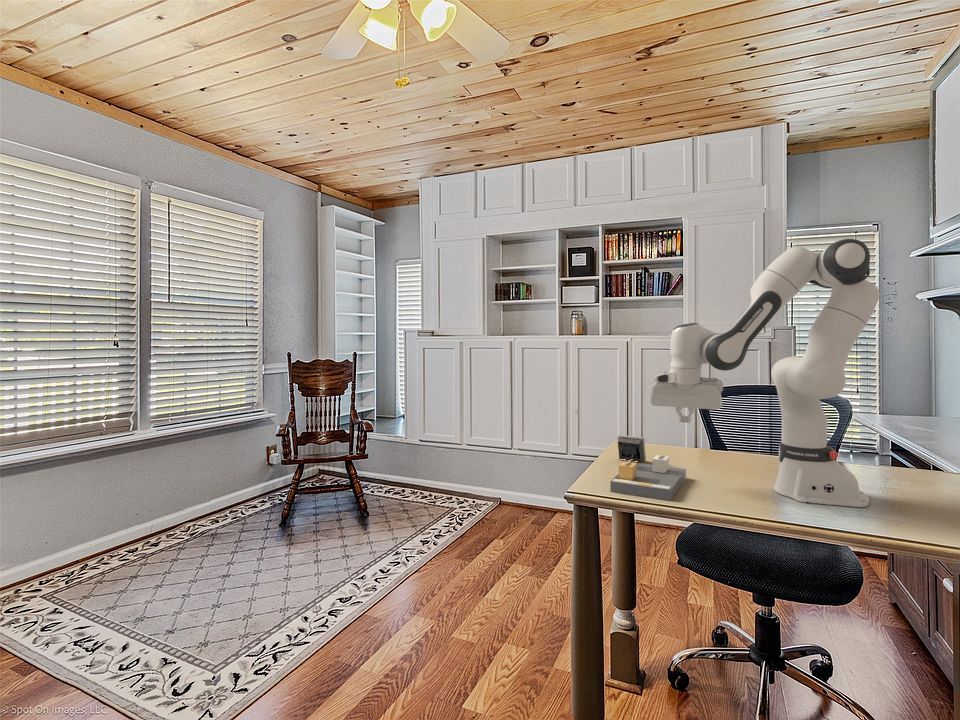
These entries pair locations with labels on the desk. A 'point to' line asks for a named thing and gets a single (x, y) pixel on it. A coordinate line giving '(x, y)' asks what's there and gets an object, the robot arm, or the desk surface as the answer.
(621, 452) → the grey hollow box
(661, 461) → the ivory slider
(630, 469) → the amber slider
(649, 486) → the switch unit
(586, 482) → the desk surface
